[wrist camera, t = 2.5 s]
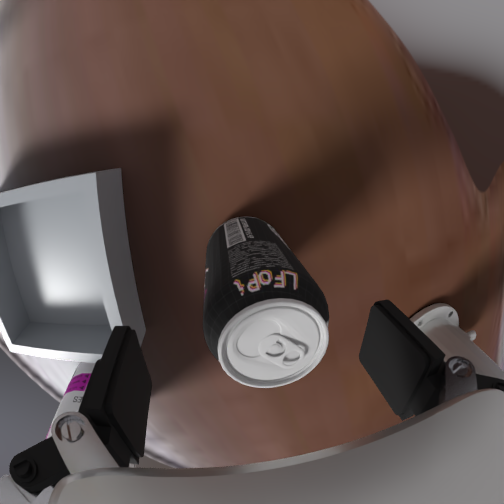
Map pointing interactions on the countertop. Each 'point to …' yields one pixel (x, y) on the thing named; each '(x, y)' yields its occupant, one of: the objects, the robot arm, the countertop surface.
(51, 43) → the countertop surface
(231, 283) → the beverage can
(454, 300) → the countertop surface
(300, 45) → the countertop surface
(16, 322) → the tray
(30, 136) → the countertop surface
